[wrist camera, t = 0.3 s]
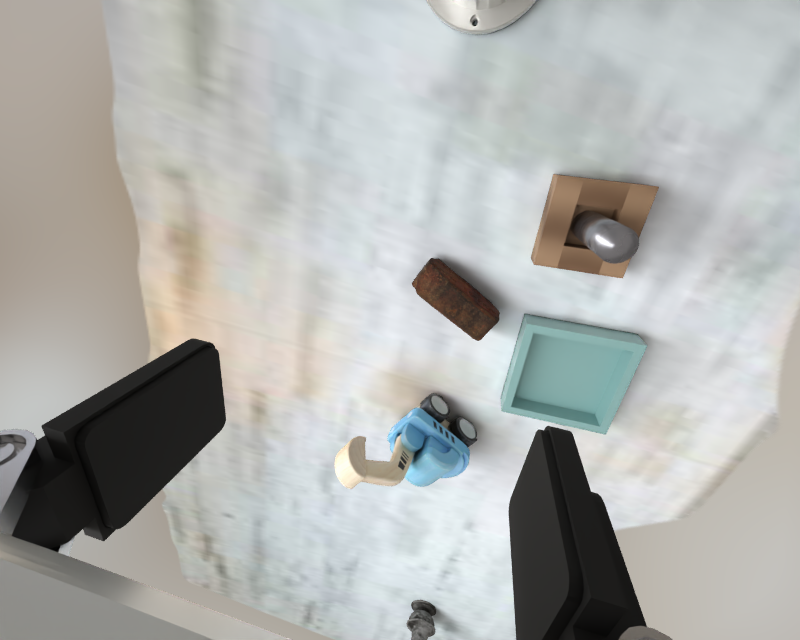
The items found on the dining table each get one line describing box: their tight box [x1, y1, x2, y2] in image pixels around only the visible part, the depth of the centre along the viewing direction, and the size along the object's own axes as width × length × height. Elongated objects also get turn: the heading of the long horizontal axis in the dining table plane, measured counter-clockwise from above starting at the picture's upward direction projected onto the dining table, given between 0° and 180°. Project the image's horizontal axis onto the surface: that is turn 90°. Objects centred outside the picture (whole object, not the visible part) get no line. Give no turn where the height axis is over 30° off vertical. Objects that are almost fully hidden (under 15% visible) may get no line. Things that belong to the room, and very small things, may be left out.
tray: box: [501, 314, 647, 435], centre depth 44 cm, size 13×13×3 cm
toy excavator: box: [335, 393, 477, 489], centre depth 46 cm, size 9×17×17 cm, turn 52°
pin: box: [571, 211, 639, 264], centre depth 33 cm, size 3×3×10 cm
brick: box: [412, 258, 499, 341], centre depth 42 cm, size 11×4×5 cm, turn 54°
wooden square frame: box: [531, 174, 659, 278], centre depth 37 cm, size 9×9×3 cm
